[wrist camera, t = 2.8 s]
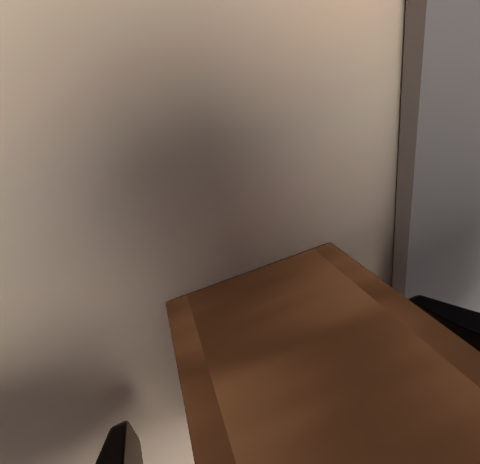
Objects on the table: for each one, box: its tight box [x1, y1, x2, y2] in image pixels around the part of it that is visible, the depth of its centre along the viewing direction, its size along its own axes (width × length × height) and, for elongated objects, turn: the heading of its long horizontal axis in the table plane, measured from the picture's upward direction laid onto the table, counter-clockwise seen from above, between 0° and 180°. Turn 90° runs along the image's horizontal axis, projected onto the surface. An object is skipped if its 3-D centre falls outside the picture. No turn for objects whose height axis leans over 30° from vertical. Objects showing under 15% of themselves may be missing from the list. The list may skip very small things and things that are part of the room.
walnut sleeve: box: [166, 242, 480, 464], centre depth 7 cm, size 5×5×7 cm
